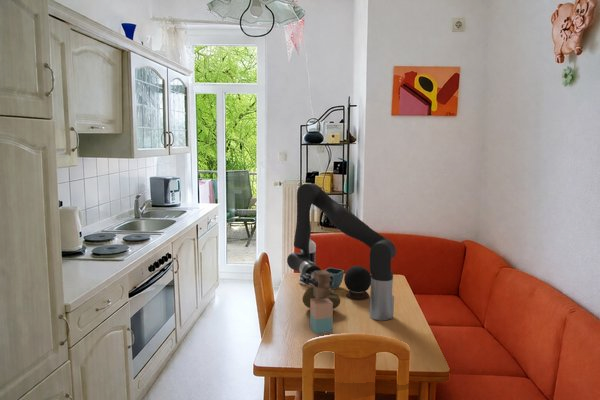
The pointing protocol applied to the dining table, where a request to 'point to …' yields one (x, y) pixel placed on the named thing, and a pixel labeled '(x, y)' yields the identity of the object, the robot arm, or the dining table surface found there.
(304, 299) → the decorative stone
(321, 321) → the tower base
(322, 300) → the tower top
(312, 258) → the vodka
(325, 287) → the pillar
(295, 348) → the dining table surface
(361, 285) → the black ball on stand
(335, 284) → the flower pot
